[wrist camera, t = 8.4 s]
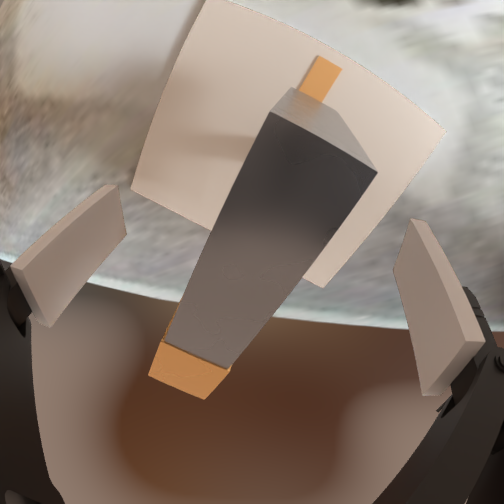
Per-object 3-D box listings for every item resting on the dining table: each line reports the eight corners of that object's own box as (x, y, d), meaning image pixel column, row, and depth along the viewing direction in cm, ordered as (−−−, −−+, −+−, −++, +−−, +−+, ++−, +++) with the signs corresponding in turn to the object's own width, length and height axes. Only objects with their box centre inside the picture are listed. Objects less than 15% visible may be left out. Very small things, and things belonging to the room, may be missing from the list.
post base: (441, 128, 19) (492, 160, 12) (322, 281, 29) (323, 346, 22) (213, -3, 16) (168, -29, 10) (135, 185, 26) (86, 228, 20)
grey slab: (289, 85, 13) (264, 109, 5) (338, 111, 13) (382, 176, 5) (206, 252, 19) (147, 375, 11) (243, 270, 19) (204, 399, 12)
